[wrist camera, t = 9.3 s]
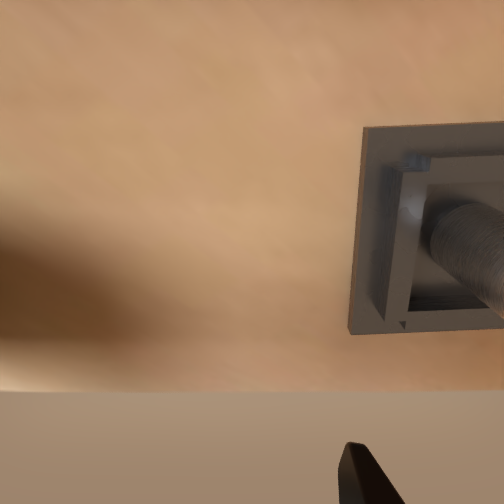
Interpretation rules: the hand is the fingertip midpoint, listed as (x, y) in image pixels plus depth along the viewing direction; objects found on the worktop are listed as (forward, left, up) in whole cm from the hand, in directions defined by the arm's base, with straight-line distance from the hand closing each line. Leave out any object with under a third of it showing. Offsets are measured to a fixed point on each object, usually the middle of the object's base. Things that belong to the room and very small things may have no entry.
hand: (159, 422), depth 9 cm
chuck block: (+13, +6, -12) cm, 19 cm away
